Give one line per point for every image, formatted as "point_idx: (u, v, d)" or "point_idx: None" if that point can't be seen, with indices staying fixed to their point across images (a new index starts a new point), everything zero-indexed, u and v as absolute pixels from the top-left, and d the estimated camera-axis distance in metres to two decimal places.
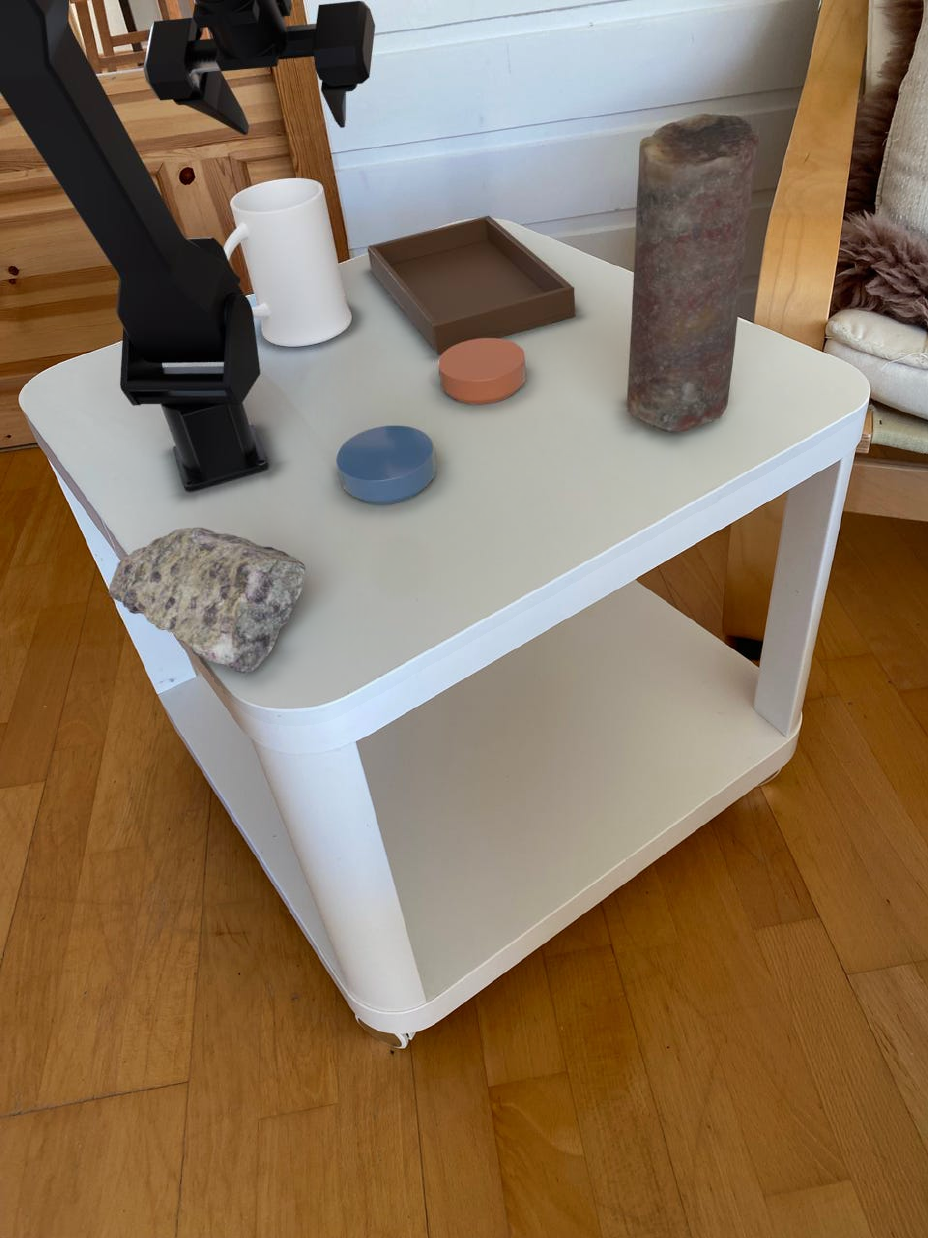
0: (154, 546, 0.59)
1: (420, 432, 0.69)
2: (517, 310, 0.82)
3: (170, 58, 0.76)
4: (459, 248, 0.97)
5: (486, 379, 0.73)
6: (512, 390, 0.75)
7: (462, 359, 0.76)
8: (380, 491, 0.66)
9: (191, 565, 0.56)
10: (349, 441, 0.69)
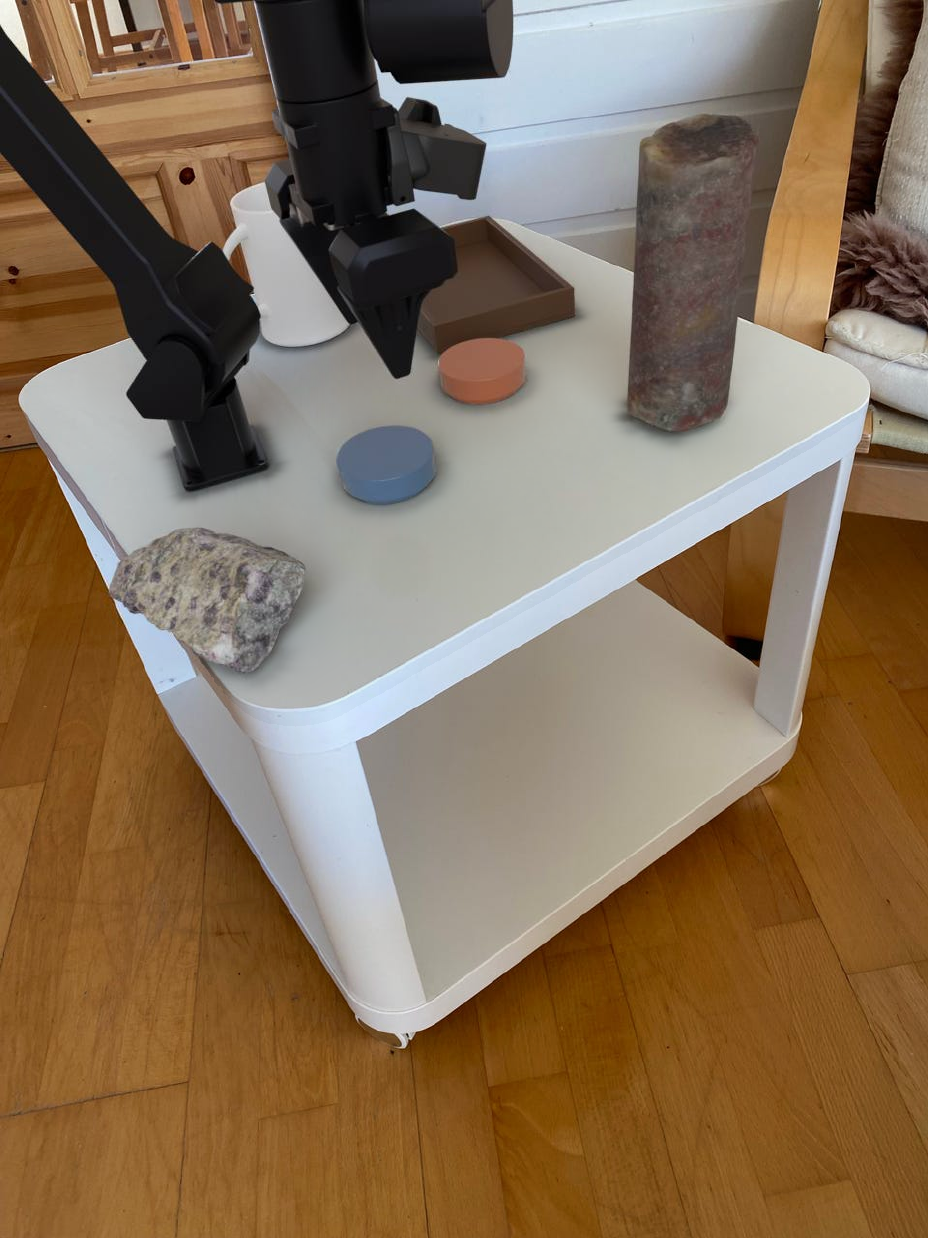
0: (154, 546, 0.59)
1: (420, 432, 0.69)
2: (517, 310, 0.82)
3: (288, 169, 0.60)
4: (459, 248, 0.97)
5: (486, 379, 0.73)
6: (512, 390, 0.75)
7: (462, 359, 0.76)
8: (380, 491, 0.66)
9: (191, 565, 0.56)
10: (349, 441, 0.69)
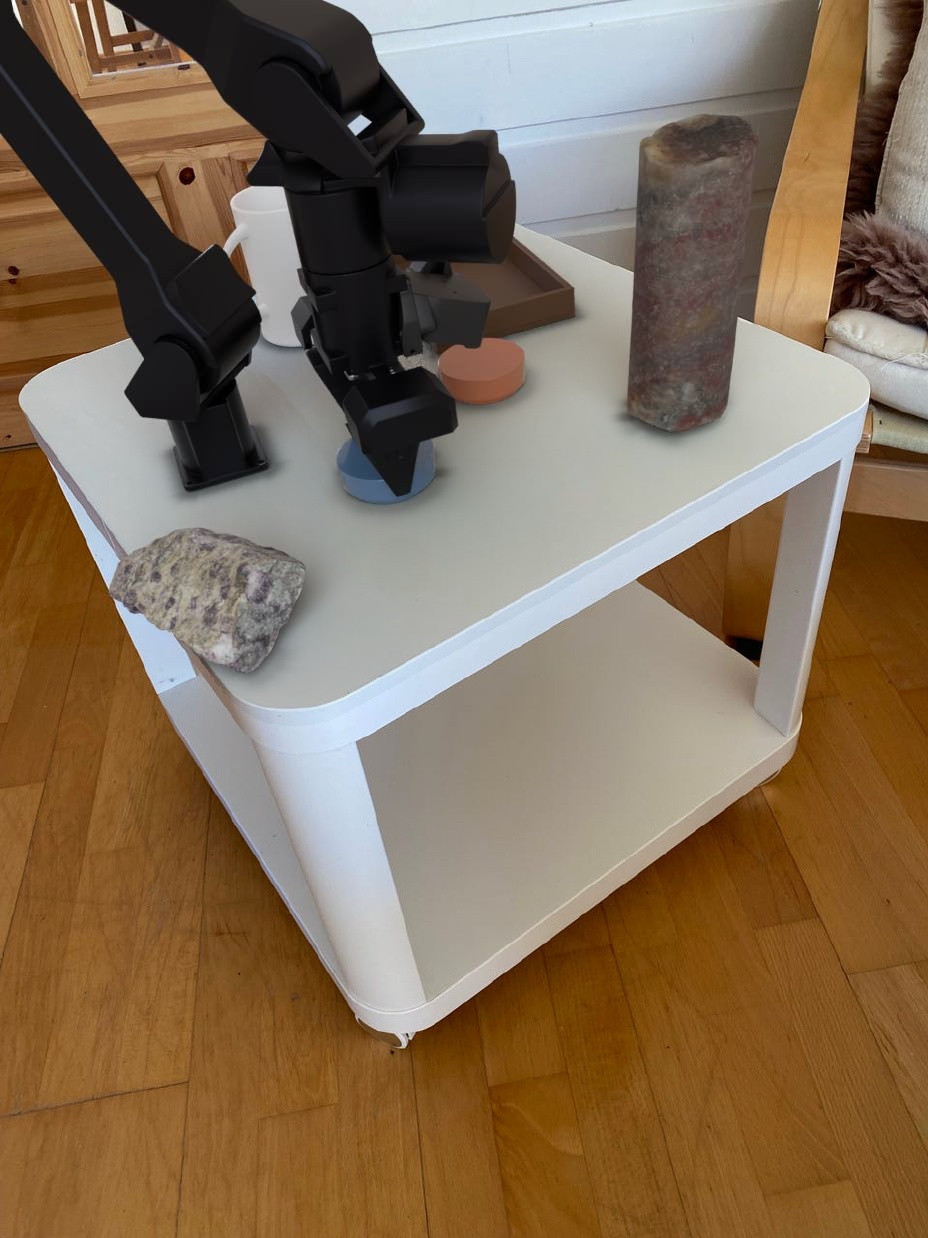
0: (154, 546, 0.59)
1: None
2: (517, 310, 0.82)
3: None
4: None
5: (486, 379, 0.73)
6: (512, 390, 0.75)
7: (462, 359, 0.76)
8: (380, 491, 0.66)
9: (191, 565, 0.56)
10: (349, 441, 0.69)
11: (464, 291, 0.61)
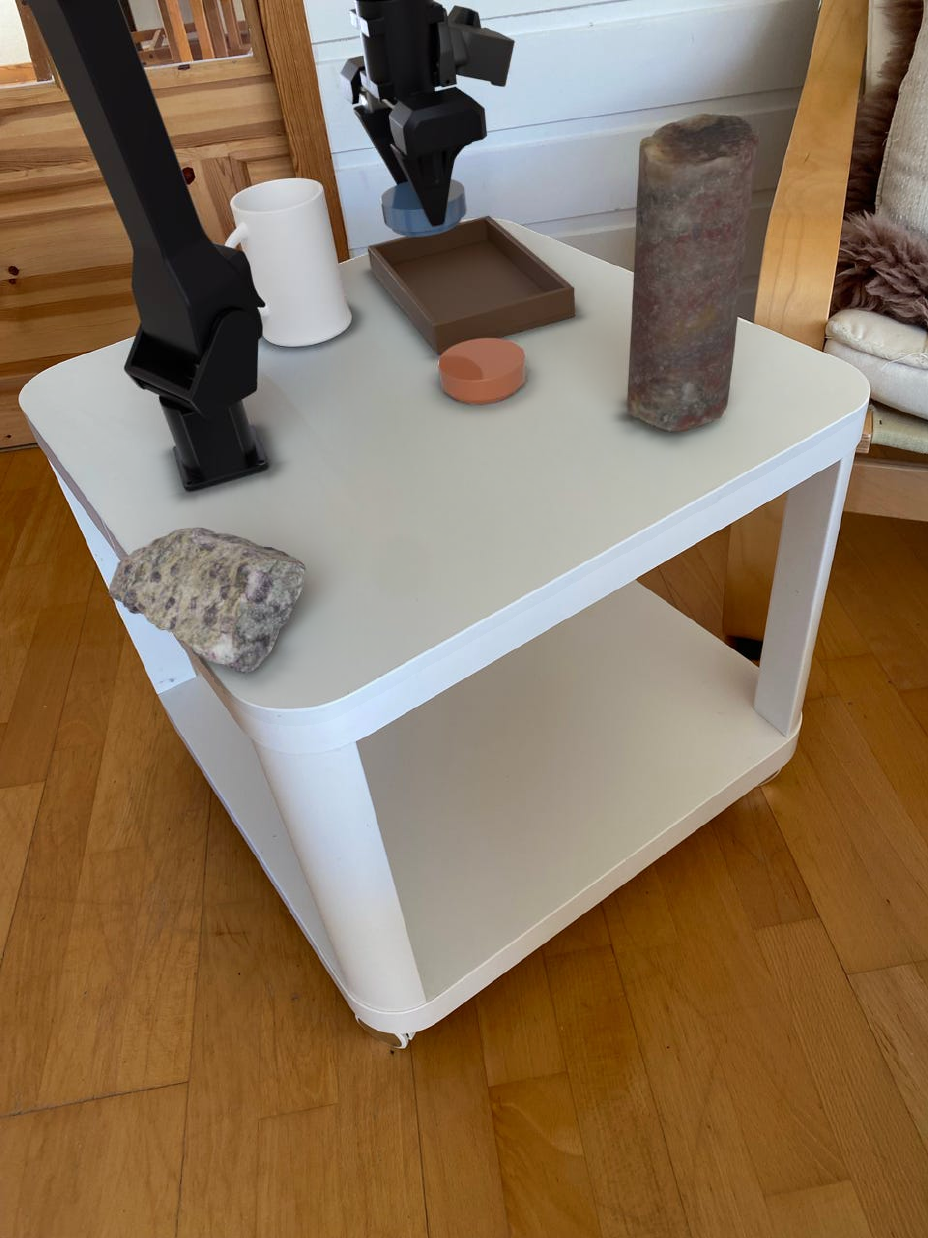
0: (154, 546, 0.59)
1: (452, 180, 0.79)
2: (517, 310, 0.82)
3: (359, 62, 0.76)
4: (459, 248, 0.97)
5: (486, 379, 0.73)
6: (512, 390, 0.75)
7: (462, 359, 0.76)
8: (419, 221, 0.76)
9: (191, 565, 0.56)
10: (391, 188, 0.80)
11: (491, 33, 0.72)
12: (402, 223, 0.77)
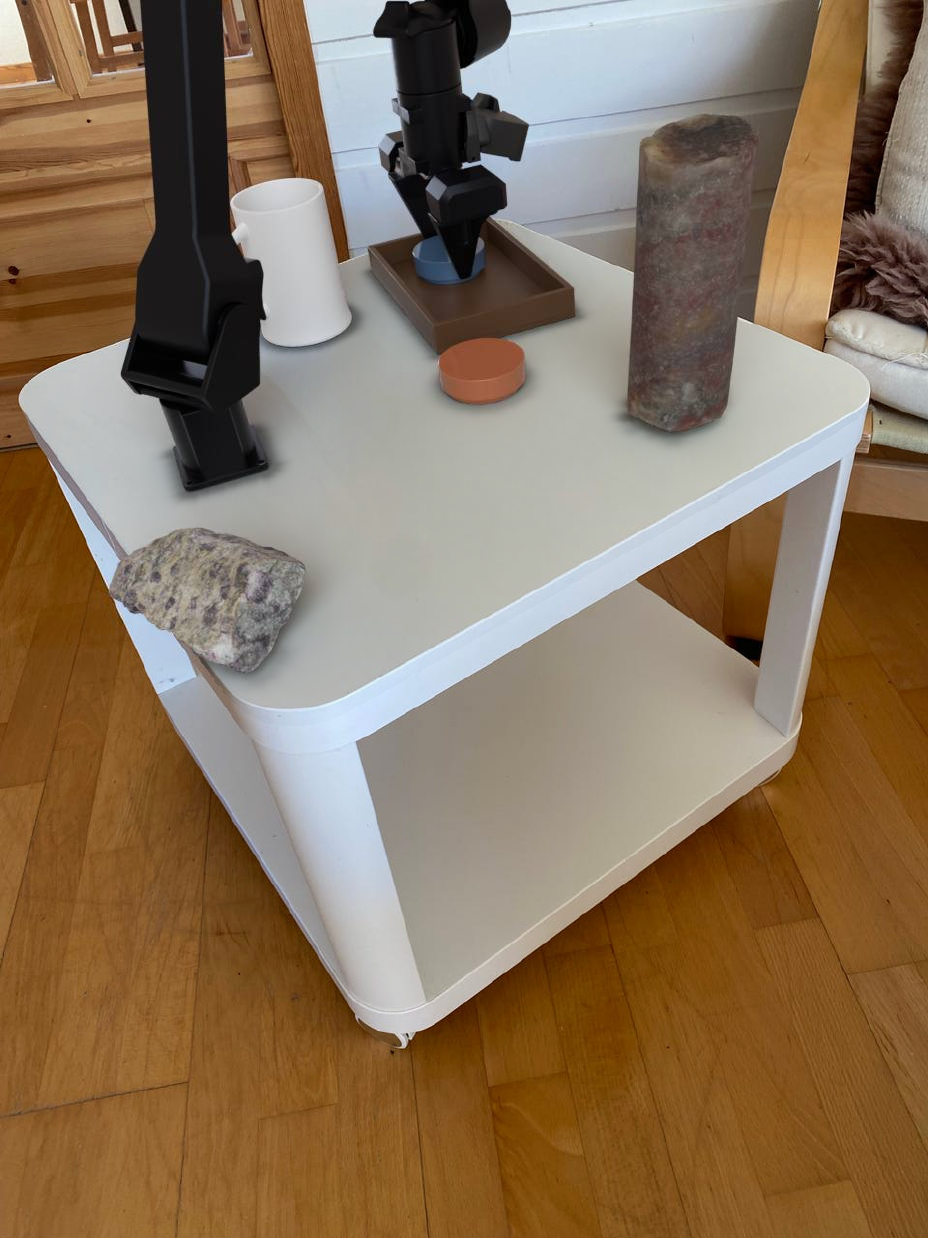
0: (154, 546, 0.59)
1: None
2: (517, 310, 0.82)
3: (396, 138, 0.90)
4: None
5: (486, 379, 0.73)
6: (512, 390, 0.75)
7: (462, 359, 0.76)
8: (446, 271, 0.90)
9: (191, 565, 0.56)
10: (421, 242, 0.93)
11: (509, 118, 0.85)
12: (432, 273, 0.90)
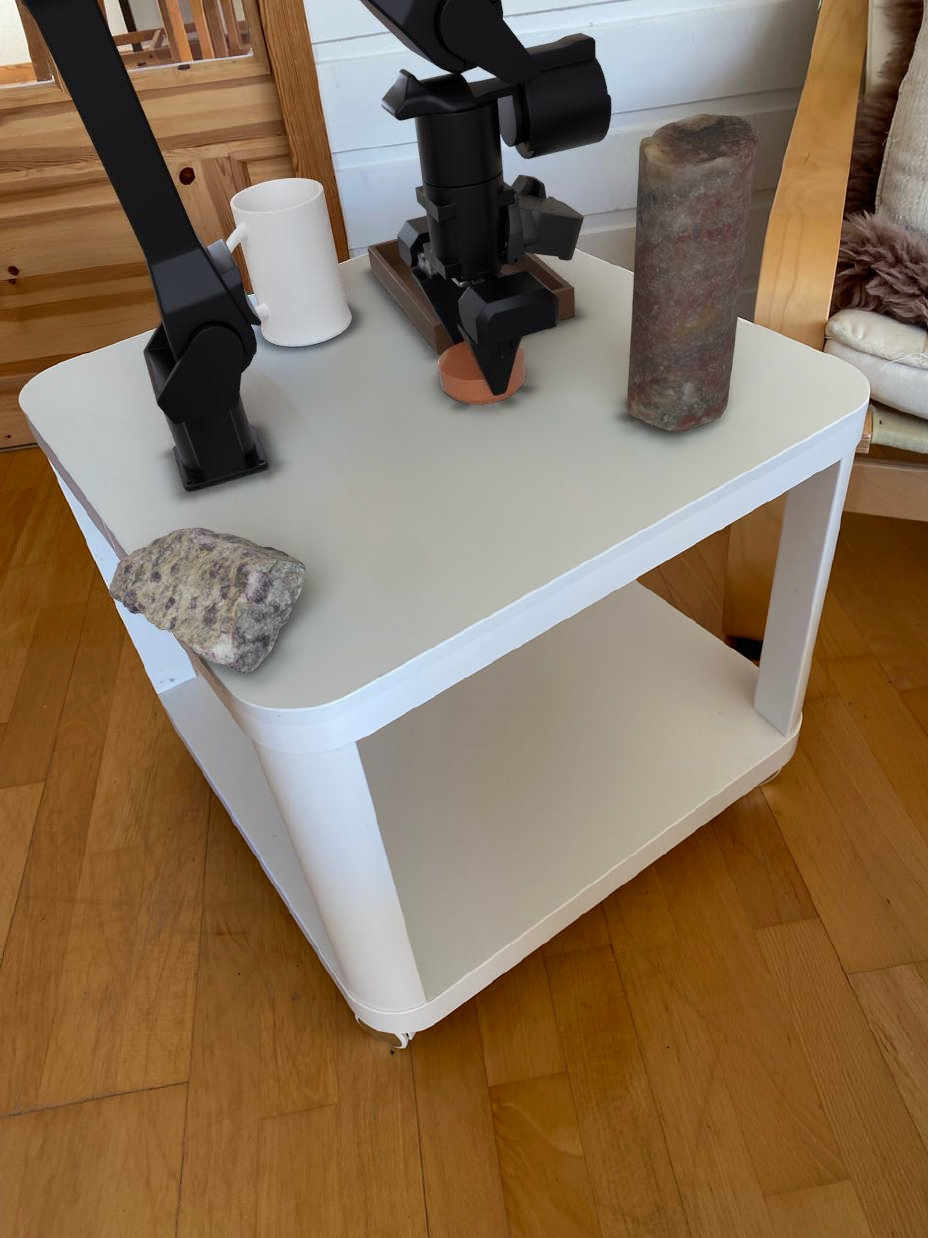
0: (154, 546, 0.59)
1: None
2: None
3: (419, 227, 0.74)
4: None
5: None
6: (512, 390, 0.75)
7: (462, 359, 0.76)
8: None
9: (191, 565, 0.56)
10: None
11: (559, 209, 0.70)
12: None
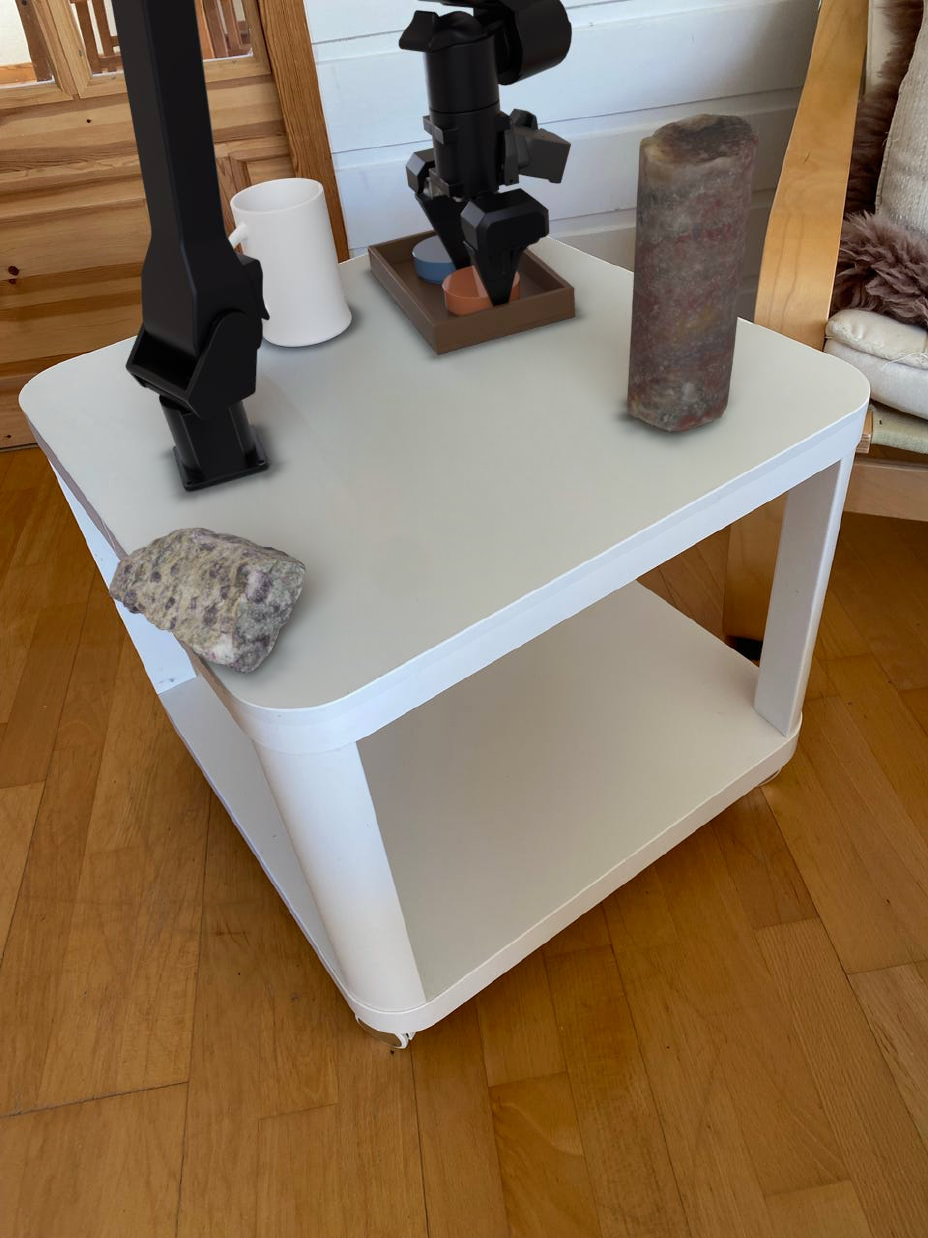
0: (154, 546, 0.59)
1: None
2: (517, 310, 0.82)
3: (425, 157, 0.83)
4: None
5: (485, 296, 0.83)
6: None
7: (464, 281, 0.86)
8: (446, 271, 0.90)
9: (191, 565, 0.56)
10: (421, 242, 0.93)
11: (549, 137, 0.79)
12: (432, 273, 0.90)
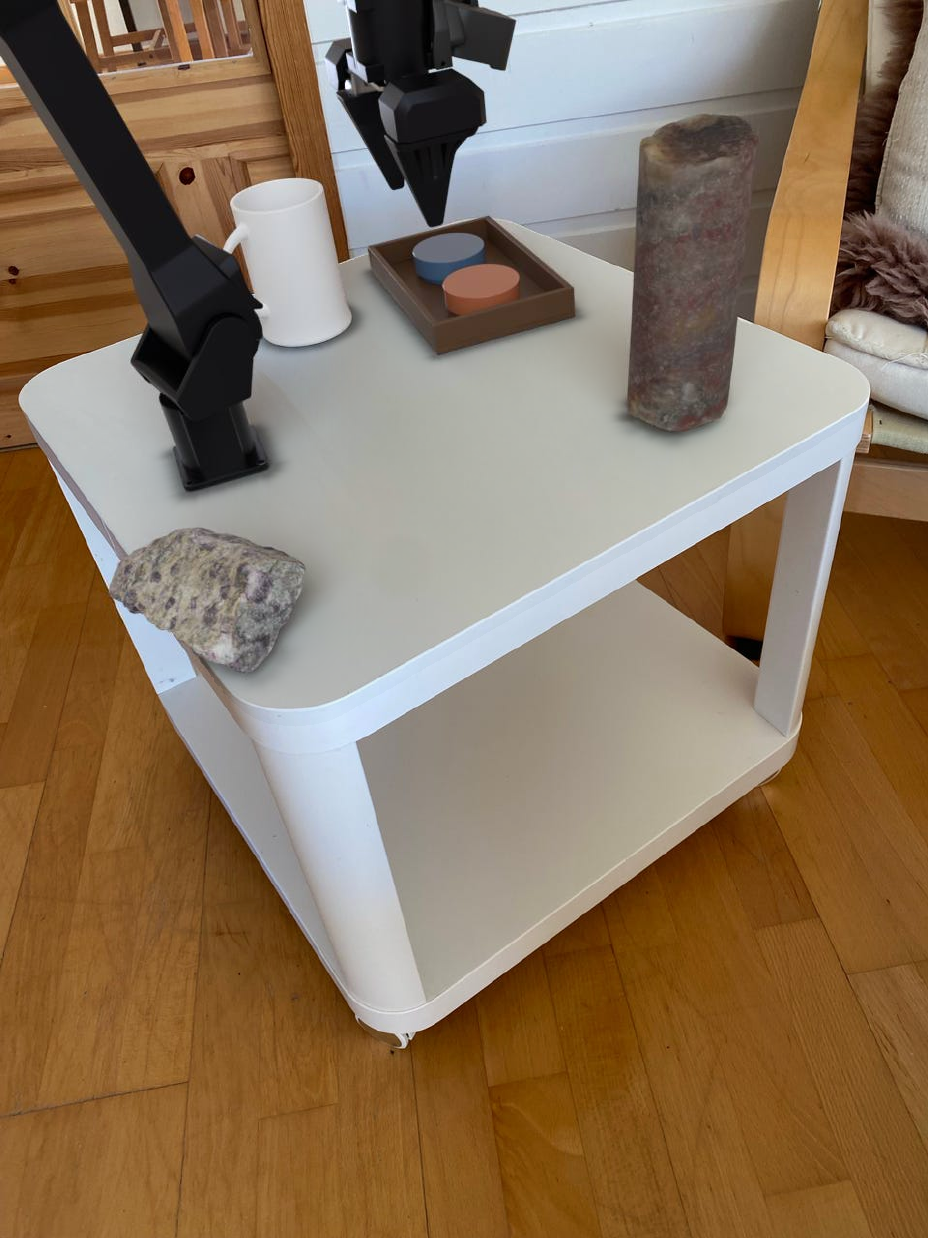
0: (154, 546, 0.59)
1: (474, 235, 0.93)
2: (517, 310, 0.82)
3: (346, 44, 0.70)
4: None
5: (485, 296, 0.83)
6: None
7: (464, 281, 0.86)
8: (446, 271, 0.90)
9: (191, 565, 0.56)
10: (421, 242, 0.93)
11: (490, 12, 0.65)
12: (432, 273, 0.90)
